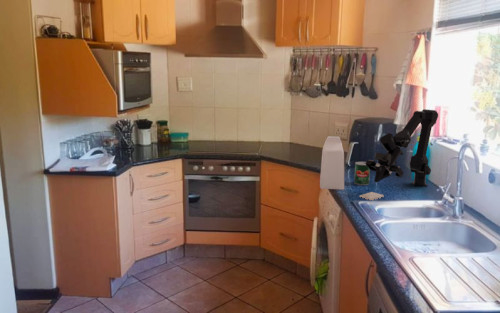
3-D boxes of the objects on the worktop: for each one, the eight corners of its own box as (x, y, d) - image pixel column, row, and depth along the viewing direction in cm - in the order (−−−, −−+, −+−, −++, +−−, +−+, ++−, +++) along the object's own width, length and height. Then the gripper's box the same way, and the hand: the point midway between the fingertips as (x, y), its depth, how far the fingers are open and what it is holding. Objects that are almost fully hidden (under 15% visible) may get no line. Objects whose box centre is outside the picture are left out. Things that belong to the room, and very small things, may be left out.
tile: (371, 191, 218) (359, 195, 213) (383, 195, 212) (371, 198, 207) (371, 194, 218) (359, 198, 213) (383, 198, 213) (371, 201, 207)
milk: (320, 188, 227) (321, 138, 222) (319, 182, 238) (321, 134, 233) (344, 189, 226) (346, 138, 220) (342, 183, 237) (344, 135, 231)
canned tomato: (358, 185, 233) (359, 165, 230) (351, 181, 240) (352, 162, 238) (372, 184, 235) (373, 164, 233) (364, 180, 242) (365, 161, 240)
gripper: (368, 143, 220) (352, 168, 215) (401, 149, 205) (384, 176, 201) (378, 157, 226) (362, 181, 222) (410, 163, 211) (394, 190, 207)
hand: (375, 182), depth 212 cm, fingers closed
